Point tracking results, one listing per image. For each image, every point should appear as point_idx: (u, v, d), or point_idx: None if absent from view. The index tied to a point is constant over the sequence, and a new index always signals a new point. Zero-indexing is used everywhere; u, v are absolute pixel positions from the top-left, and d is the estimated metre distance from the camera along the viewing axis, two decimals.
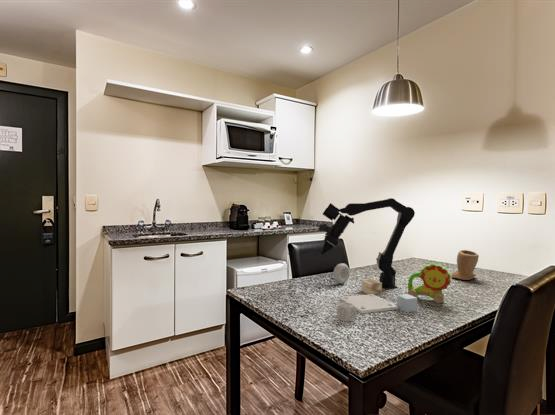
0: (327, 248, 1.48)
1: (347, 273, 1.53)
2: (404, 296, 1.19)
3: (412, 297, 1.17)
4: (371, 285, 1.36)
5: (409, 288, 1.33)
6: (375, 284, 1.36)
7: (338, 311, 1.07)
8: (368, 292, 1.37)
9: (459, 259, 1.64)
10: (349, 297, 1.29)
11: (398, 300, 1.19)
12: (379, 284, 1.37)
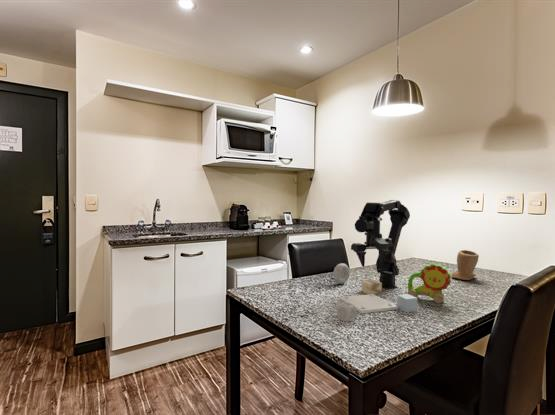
0: None
1: (347, 273, 1.53)
2: (404, 296, 1.19)
3: (412, 297, 1.17)
4: (371, 285, 1.36)
5: (409, 288, 1.33)
6: (375, 284, 1.36)
7: (338, 311, 1.08)
8: (368, 292, 1.36)
9: (459, 259, 1.64)
10: (349, 297, 1.29)
11: (398, 300, 1.19)
12: (379, 284, 1.37)
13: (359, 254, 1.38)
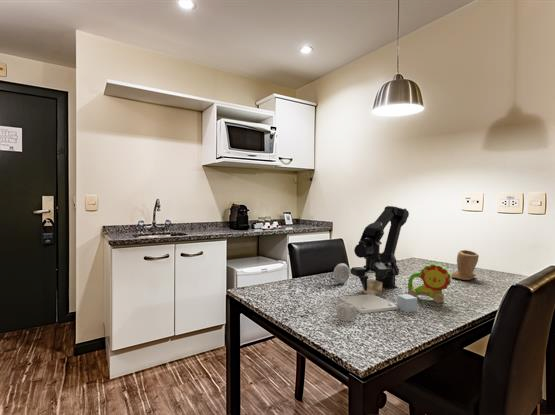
0: None
1: (347, 273, 1.53)
2: (404, 296, 1.19)
3: (412, 297, 1.17)
4: (371, 285, 1.36)
5: (409, 288, 1.33)
6: (375, 284, 1.36)
7: (338, 311, 1.08)
8: (368, 292, 1.36)
9: (459, 259, 1.64)
10: (349, 297, 1.29)
11: (398, 300, 1.19)
12: (379, 284, 1.37)
13: (361, 278, 1.39)
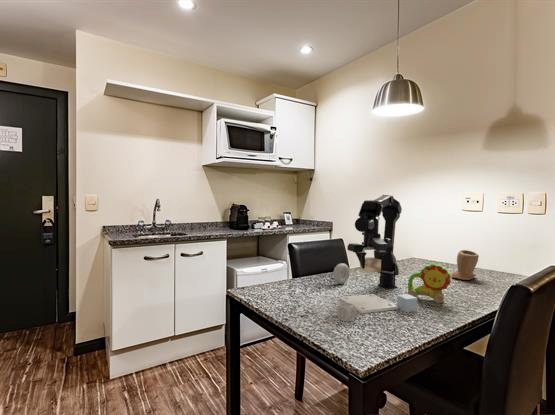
0: None
1: (347, 273, 1.53)
2: (404, 296, 1.19)
3: (412, 297, 1.17)
4: (369, 262, 1.27)
5: (409, 288, 1.33)
6: (374, 261, 1.28)
7: (338, 311, 1.08)
8: (366, 269, 1.28)
9: (459, 259, 1.64)
10: (349, 297, 1.29)
11: (398, 300, 1.19)
12: (378, 261, 1.28)
13: (359, 255, 1.30)
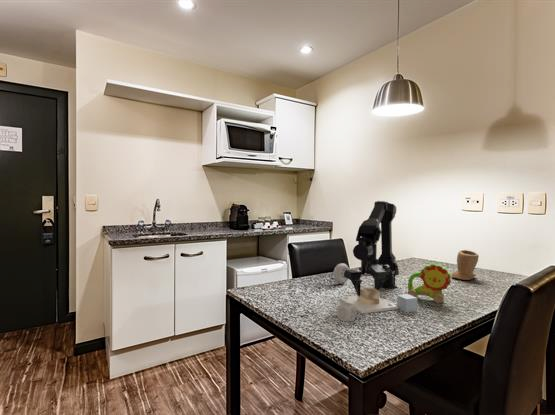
0: None
1: None
2: (404, 296, 1.19)
3: (412, 297, 1.17)
4: (367, 293, 1.20)
5: (409, 288, 1.33)
6: (372, 292, 1.21)
7: (338, 311, 1.08)
8: (364, 301, 1.21)
9: (459, 259, 1.64)
10: (349, 297, 1.29)
11: (398, 300, 1.19)
12: (376, 292, 1.21)
13: (354, 282, 1.23)
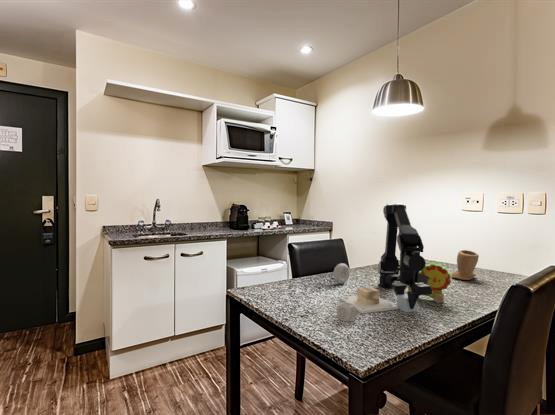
0: None
1: (347, 273, 1.53)
2: (404, 296, 1.19)
3: None
4: (367, 293, 1.20)
5: (409, 288, 1.33)
6: (372, 292, 1.21)
7: (338, 311, 1.08)
8: (364, 301, 1.21)
9: (459, 259, 1.64)
10: (349, 297, 1.29)
11: (398, 300, 1.19)
12: (376, 292, 1.21)
13: (412, 296, 1.14)
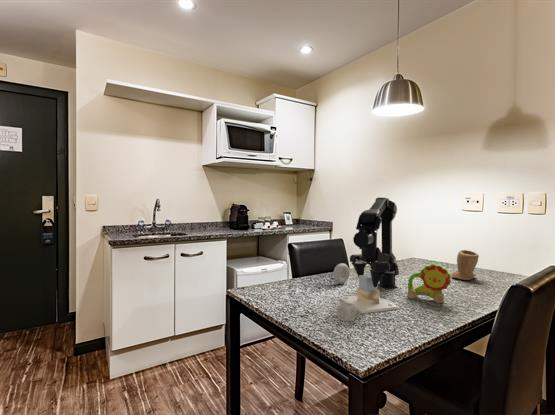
0: None
1: (347, 273, 1.53)
2: (365, 276, 1.23)
3: None
4: (367, 293, 1.20)
5: (409, 288, 1.33)
6: (372, 292, 1.21)
7: (338, 311, 1.08)
8: (364, 301, 1.21)
9: (459, 259, 1.64)
10: (349, 297, 1.29)
11: (360, 280, 1.24)
12: (376, 292, 1.21)
13: (375, 274, 1.17)
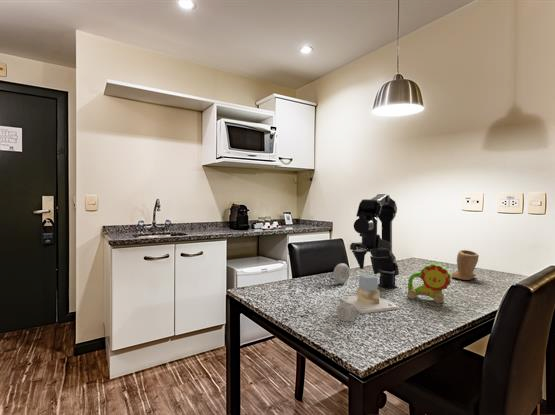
0: None
1: (347, 273, 1.53)
2: (365, 276, 1.23)
3: (373, 277, 1.22)
4: (367, 293, 1.20)
5: (409, 288, 1.33)
6: (372, 292, 1.21)
7: (338, 311, 1.08)
8: (364, 301, 1.21)
9: (459, 259, 1.64)
10: (349, 297, 1.29)
11: (360, 280, 1.24)
12: (376, 292, 1.21)
13: (376, 261, 1.17)
